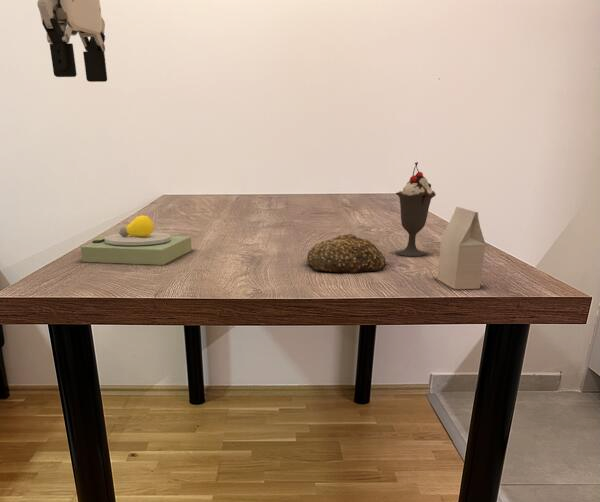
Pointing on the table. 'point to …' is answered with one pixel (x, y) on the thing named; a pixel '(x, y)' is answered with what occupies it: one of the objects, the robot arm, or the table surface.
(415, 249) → the sundae
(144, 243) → the scale
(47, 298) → the table surface
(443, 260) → the gable-top milk carton
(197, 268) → the table surface
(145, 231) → the light bulb
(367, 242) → the bread roll
